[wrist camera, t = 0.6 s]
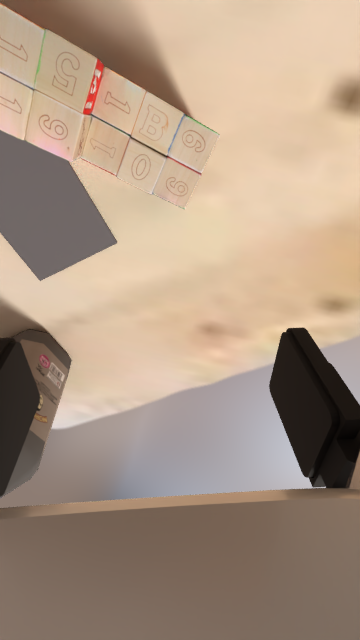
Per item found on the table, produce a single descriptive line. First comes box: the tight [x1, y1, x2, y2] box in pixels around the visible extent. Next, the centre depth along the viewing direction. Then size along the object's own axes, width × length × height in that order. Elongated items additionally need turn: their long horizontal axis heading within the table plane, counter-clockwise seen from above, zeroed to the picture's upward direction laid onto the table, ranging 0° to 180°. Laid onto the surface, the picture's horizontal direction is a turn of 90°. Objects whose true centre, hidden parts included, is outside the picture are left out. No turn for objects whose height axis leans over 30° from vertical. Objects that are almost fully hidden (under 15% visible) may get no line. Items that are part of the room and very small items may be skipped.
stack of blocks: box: [0, 2, 220, 209], centre depth 24 cm, size 21×6×12 cm, turn 63°
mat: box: [0, 130, 117, 281], centre depth 31 cm, size 11×23×1 cm, turn 25°
